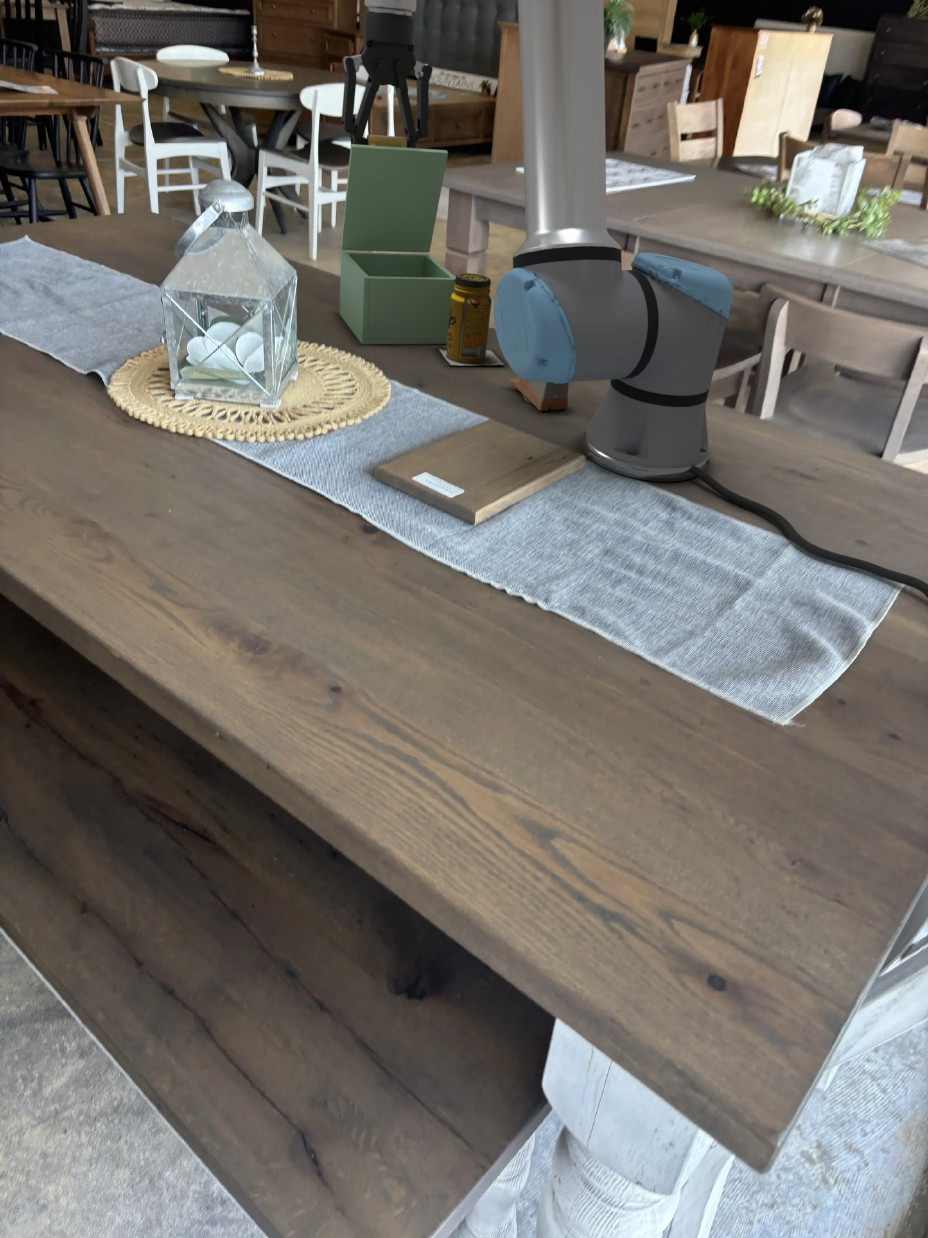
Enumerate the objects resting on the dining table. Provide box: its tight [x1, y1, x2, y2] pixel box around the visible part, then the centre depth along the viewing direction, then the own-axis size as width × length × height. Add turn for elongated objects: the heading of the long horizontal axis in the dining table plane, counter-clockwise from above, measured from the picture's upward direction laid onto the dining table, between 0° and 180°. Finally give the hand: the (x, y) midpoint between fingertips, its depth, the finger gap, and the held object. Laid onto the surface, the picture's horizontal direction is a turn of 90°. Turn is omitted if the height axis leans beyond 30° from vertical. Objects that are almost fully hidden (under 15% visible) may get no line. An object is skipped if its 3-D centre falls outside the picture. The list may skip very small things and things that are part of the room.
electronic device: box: [509, 376, 569, 412], centre depth 125 cm, size 4×10×8 cm, turn 25°
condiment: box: [438, 272, 505, 367], centre depth 135 cm, size 7×8×12 cm
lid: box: [340, 134, 449, 254], centre depth 143 cm, size 17×15×9 cm
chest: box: [339, 251, 456, 345], centre depth 145 cm, size 16×15×10 cm
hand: (382, 184), depth 145 cm, fingers closed on lid, 6 cm apart
